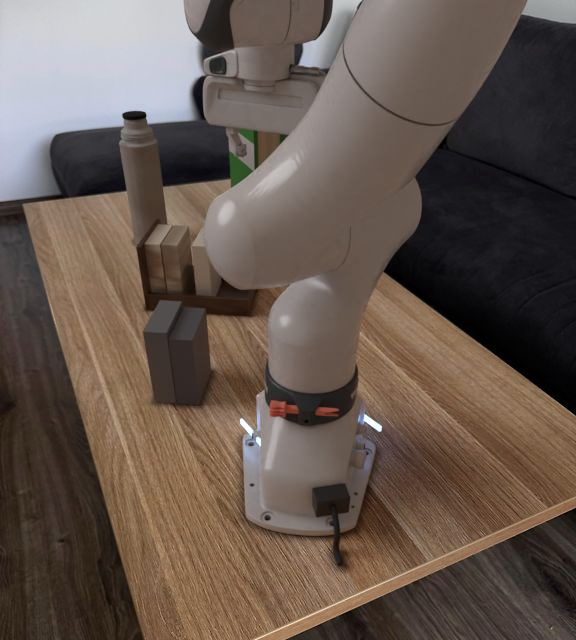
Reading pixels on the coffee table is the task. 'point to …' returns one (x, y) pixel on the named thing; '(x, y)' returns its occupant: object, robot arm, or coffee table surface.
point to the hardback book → (252, 153)
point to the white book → (204, 269)
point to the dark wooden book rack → (182, 274)
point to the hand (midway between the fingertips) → (266, 160)
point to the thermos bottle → (142, 173)
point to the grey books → (178, 353)
